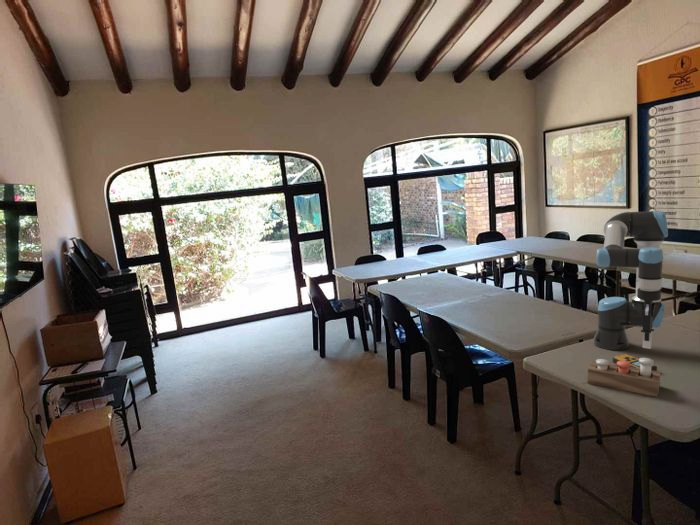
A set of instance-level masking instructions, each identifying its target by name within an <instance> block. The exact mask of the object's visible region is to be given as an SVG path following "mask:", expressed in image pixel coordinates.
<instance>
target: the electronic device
mask: <svg viewBox="0 0 700 525" xmlns="http://www.w3.org/2000/svg"><path fill="white" fill-rule="evenodd" d="M618 361H627V362H629V363H631V367H634V368H640V365H641V363H639V358H636V357H634V356H631V355H628V354H627V353H624V354H619V355H616V356H613V357H612V364H616V365H617V362H618ZM651 370H652V371H658V366H656V365H654V364H653V365H651Z"/></svg>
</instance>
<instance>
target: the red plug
mask: <svg viewBox="0 0 700 525" xmlns="http://www.w3.org/2000/svg"><path fill="white" fill-rule="evenodd" d="M616 365H617V366H618V372H621V373H626V374H629V368H630V367H631V363H629V362H627V361H618V362H617V364H616Z"/></svg>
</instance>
